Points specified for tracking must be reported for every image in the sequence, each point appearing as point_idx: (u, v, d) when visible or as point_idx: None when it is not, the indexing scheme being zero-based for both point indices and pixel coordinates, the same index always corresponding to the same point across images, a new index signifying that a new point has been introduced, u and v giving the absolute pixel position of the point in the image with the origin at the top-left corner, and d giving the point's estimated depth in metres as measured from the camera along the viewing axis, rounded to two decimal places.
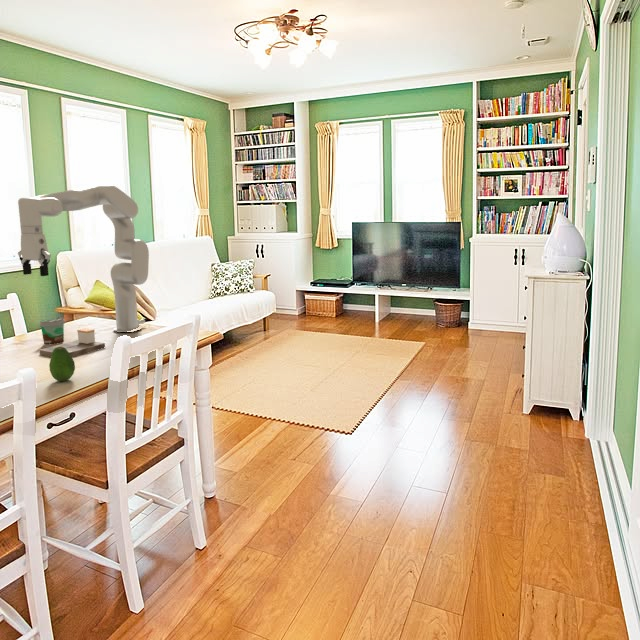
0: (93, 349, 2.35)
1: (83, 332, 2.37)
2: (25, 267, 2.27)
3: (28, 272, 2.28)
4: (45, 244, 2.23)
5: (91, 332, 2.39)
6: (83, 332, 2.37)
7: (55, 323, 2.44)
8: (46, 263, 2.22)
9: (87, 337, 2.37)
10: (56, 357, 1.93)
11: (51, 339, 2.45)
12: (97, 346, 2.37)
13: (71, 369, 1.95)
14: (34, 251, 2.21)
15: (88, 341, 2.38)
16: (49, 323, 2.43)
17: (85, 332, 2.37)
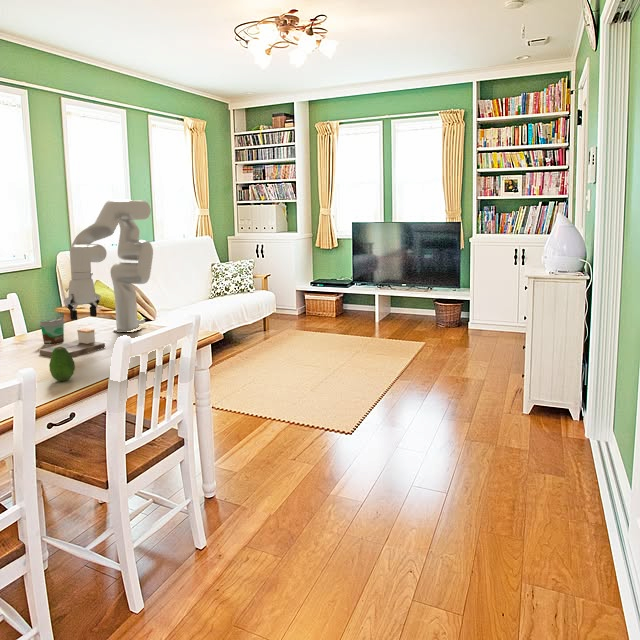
0: (93, 349, 2.35)
1: (83, 332, 2.37)
2: None
3: None
4: None
5: (91, 332, 2.39)
6: (83, 332, 2.37)
7: (55, 323, 2.44)
8: None
9: (87, 337, 2.37)
10: (56, 358, 1.93)
11: (51, 339, 2.45)
12: (97, 346, 2.37)
13: (71, 369, 1.95)
14: (93, 294, 2.38)
15: (88, 341, 2.38)
16: (49, 323, 2.43)
17: (85, 332, 2.37)
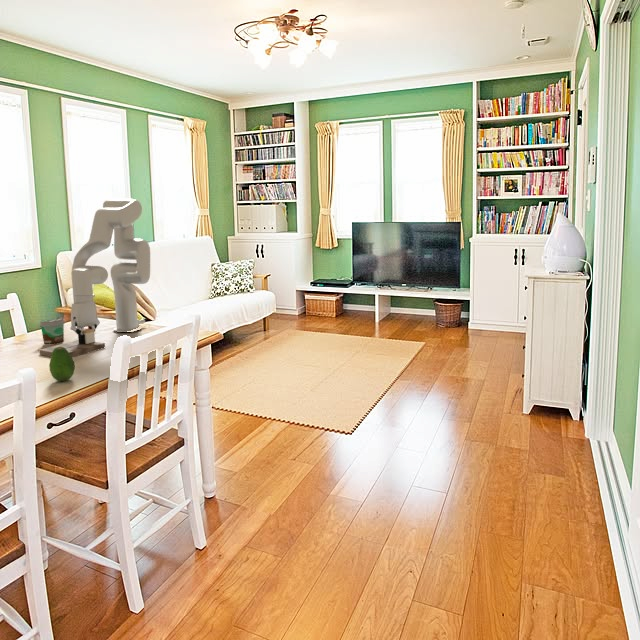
0: (93, 349, 2.35)
1: None
2: None
3: None
4: None
5: (91, 332, 2.39)
6: None
7: (55, 323, 2.44)
8: (94, 328, 2.43)
9: (87, 337, 2.37)
10: (56, 357, 1.93)
11: (51, 339, 2.45)
12: (97, 346, 2.37)
13: (71, 369, 1.95)
14: (95, 316, 2.40)
15: (88, 341, 2.38)
16: (49, 323, 2.43)
17: (85, 332, 2.37)
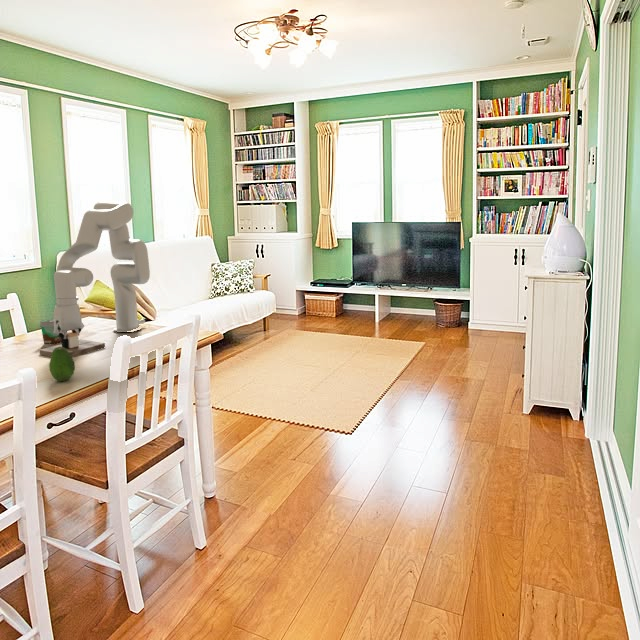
0: (93, 349, 2.35)
1: None
2: None
3: None
4: None
5: (75, 336, 2.32)
6: (67, 336, 2.30)
7: None
8: (78, 332, 2.36)
9: (70, 341, 2.30)
10: (56, 357, 1.93)
11: (51, 339, 2.45)
12: (97, 346, 2.37)
13: (71, 369, 1.95)
14: (79, 319, 2.33)
15: (72, 345, 2.31)
16: (49, 323, 2.43)
17: (68, 336, 2.30)
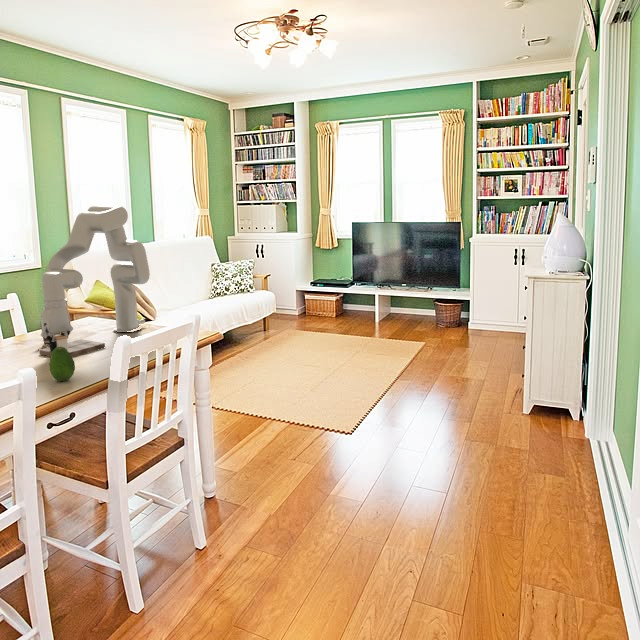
0: (93, 349, 2.35)
1: (55, 339, 2.26)
2: None
3: None
4: None
5: (63, 339, 2.27)
6: (55, 339, 2.26)
7: None
8: (67, 335, 2.31)
9: (58, 344, 2.25)
10: (56, 357, 1.93)
11: None
12: (97, 346, 2.37)
13: (71, 369, 1.95)
14: (67, 322, 2.28)
15: None
16: None
17: (57, 339, 2.25)
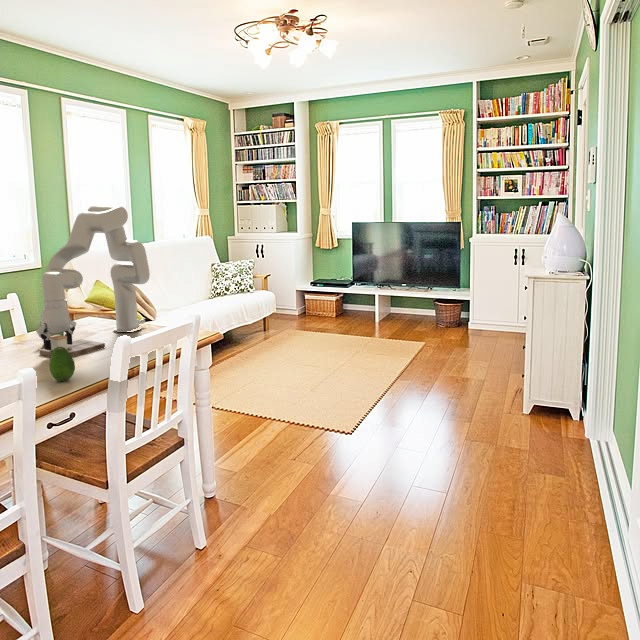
0: (93, 349, 2.35)
1: (55, 339, 2.26)
2: None
3: None
4: None
5: (63, 339, 2.27)
6: (55, 339, 2.26)
7: None
8: None
9: (58, 344, 2.25)
10: (56, 358, 1.93)
11: None
12: (97, 346, 2.37)
13: (71, 369, 1.95)
14: (67, 322, 2.28)
15: None
16: None
17: (57, 339, 2.25)
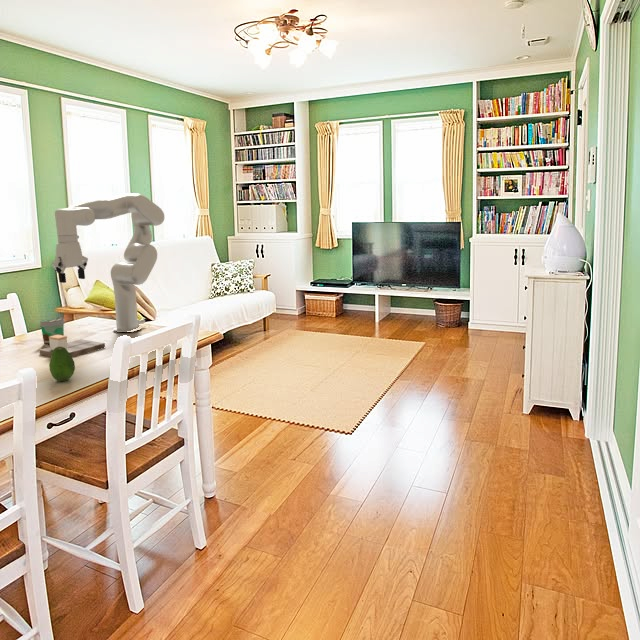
0: (93, 349, 2.35)
1: (55, 339, 2.26)
2: None
3: None
4: None
5: (63, 339, 2.27)
6: (55, 339, 2.26)
7: (55, 323, 2.44)
8: None
9: (58, 344, 2.25)
10: (56, 358, 1.93)
11: None
12: (97, 346, 2.37)
13: (71, 369, 1.95)
14: (80, 257, 2.42)
15: None
16: (49, 323, 2.43)
17: (57, 339, 2.25)
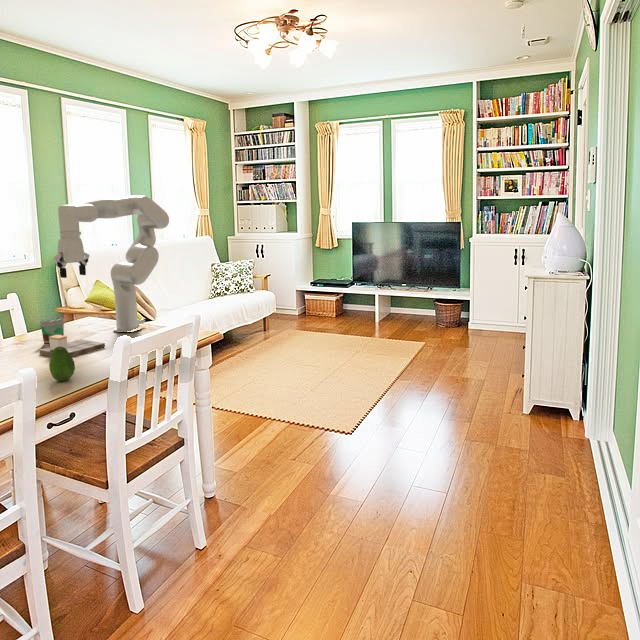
0: (93, 349, 2.35)
1: (55, 339, 2.26)
2: None
3: None
4: None
5: (63, 339, 2.27)
6: (55, 339, 2.26)
7: (55, 323, 2.44)
8: None
9: (58, 344, 2.25)
10: (56, 358, 1.93)
11: None
12: (97, 346, 2.37)
13: (71, 369, 1.95)
14: (81, 253, 2.44)
15: None
16: (49, 323, 2.43)
17: (57, 339, 2.25)
